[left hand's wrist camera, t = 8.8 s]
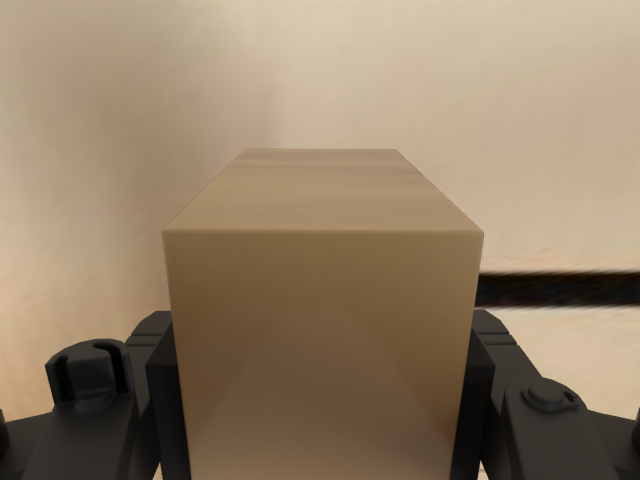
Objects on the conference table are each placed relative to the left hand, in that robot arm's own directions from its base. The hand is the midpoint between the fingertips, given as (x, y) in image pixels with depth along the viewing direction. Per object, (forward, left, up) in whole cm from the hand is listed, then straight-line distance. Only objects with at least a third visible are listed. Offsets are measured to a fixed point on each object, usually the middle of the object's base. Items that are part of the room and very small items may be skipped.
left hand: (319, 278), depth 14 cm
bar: (+19, +14, -1) cm, 23 cm away
